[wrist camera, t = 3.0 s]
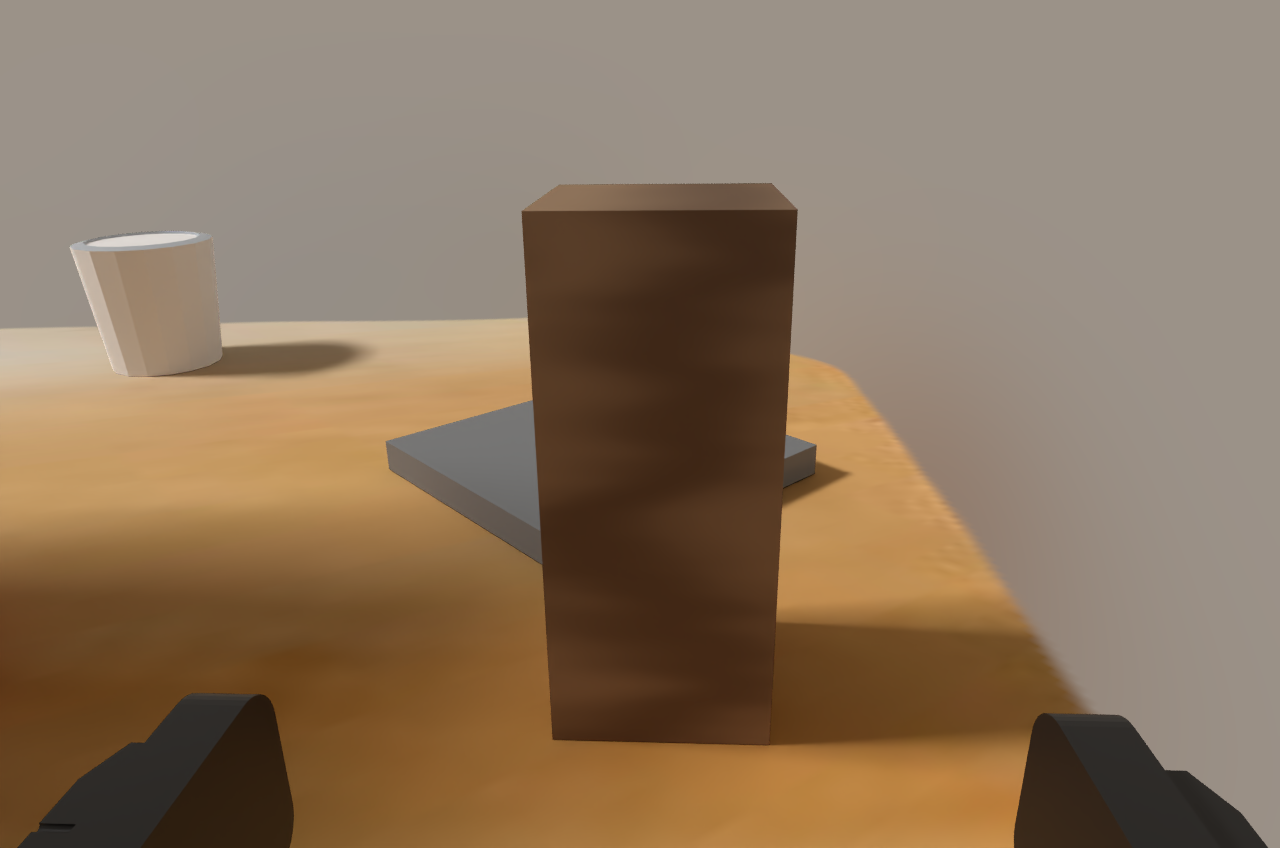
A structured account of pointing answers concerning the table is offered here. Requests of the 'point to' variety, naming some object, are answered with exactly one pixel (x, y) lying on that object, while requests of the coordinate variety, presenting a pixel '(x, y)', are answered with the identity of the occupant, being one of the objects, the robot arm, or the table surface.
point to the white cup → (153, 300)
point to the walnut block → (660, 453)
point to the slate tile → (506, 470)
